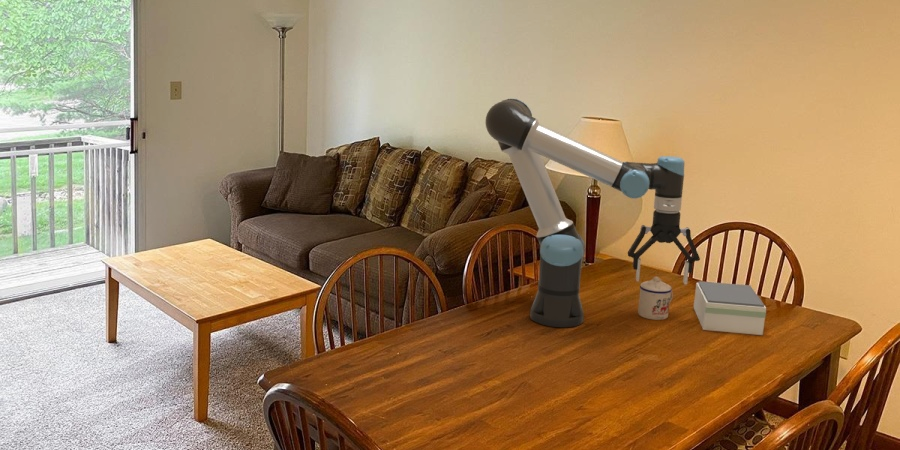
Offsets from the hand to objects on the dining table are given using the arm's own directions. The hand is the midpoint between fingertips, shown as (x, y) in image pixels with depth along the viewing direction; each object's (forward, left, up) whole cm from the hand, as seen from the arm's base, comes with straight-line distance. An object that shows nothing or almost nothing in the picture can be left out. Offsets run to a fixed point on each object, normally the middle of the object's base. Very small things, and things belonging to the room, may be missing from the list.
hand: (661, 281), depth 231 cm
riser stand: (+20, 0, -10) cm, 22 cm away
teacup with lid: (0, 0, -10) cm, 10 cm away
